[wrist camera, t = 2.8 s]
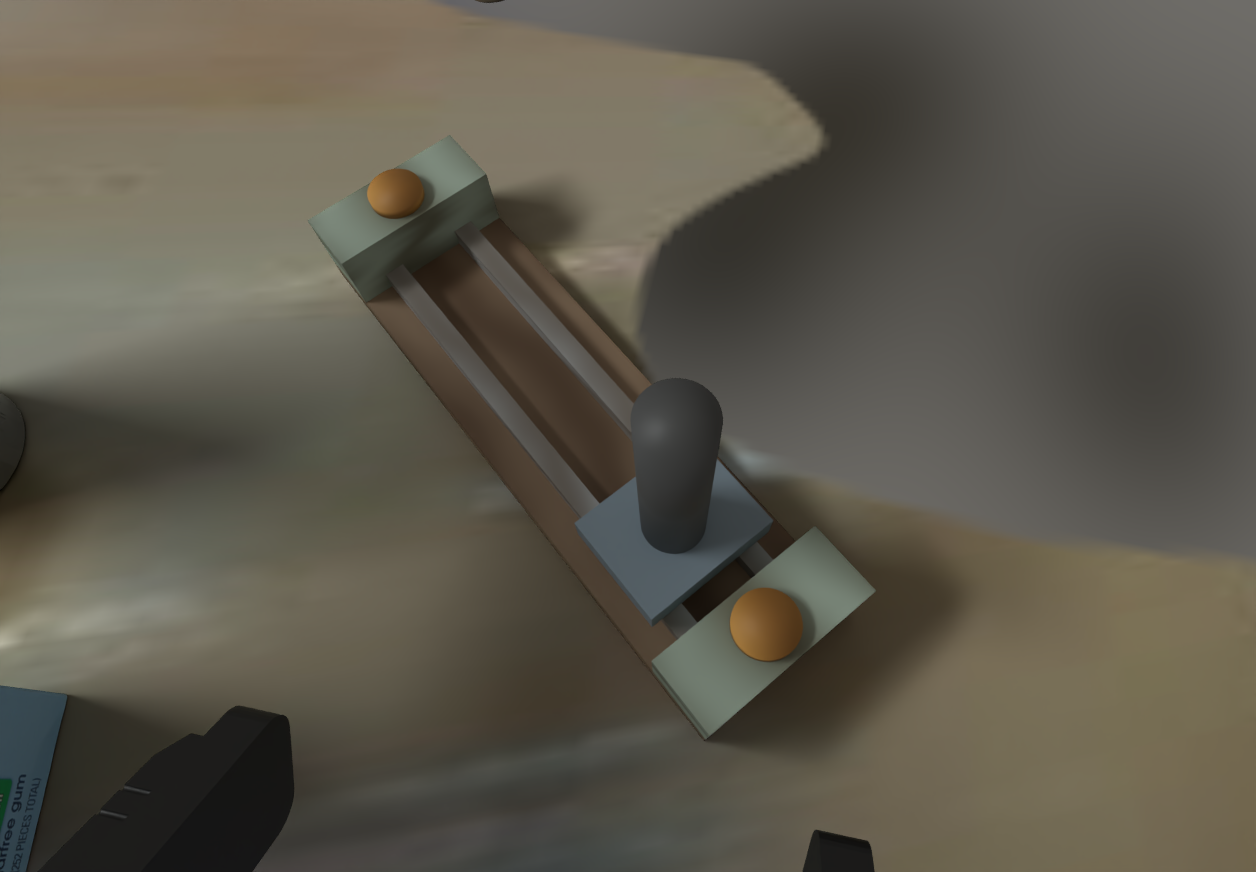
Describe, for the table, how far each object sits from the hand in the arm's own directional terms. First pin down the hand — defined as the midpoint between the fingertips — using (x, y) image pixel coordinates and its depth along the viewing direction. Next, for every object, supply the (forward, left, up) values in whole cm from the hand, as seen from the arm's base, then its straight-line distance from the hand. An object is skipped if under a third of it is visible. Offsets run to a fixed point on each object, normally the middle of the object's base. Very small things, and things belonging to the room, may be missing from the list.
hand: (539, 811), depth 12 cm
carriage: (+9, +8, -26) cm, 29 cm away
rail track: (+9, +17, -29) cm, 35 cm away
